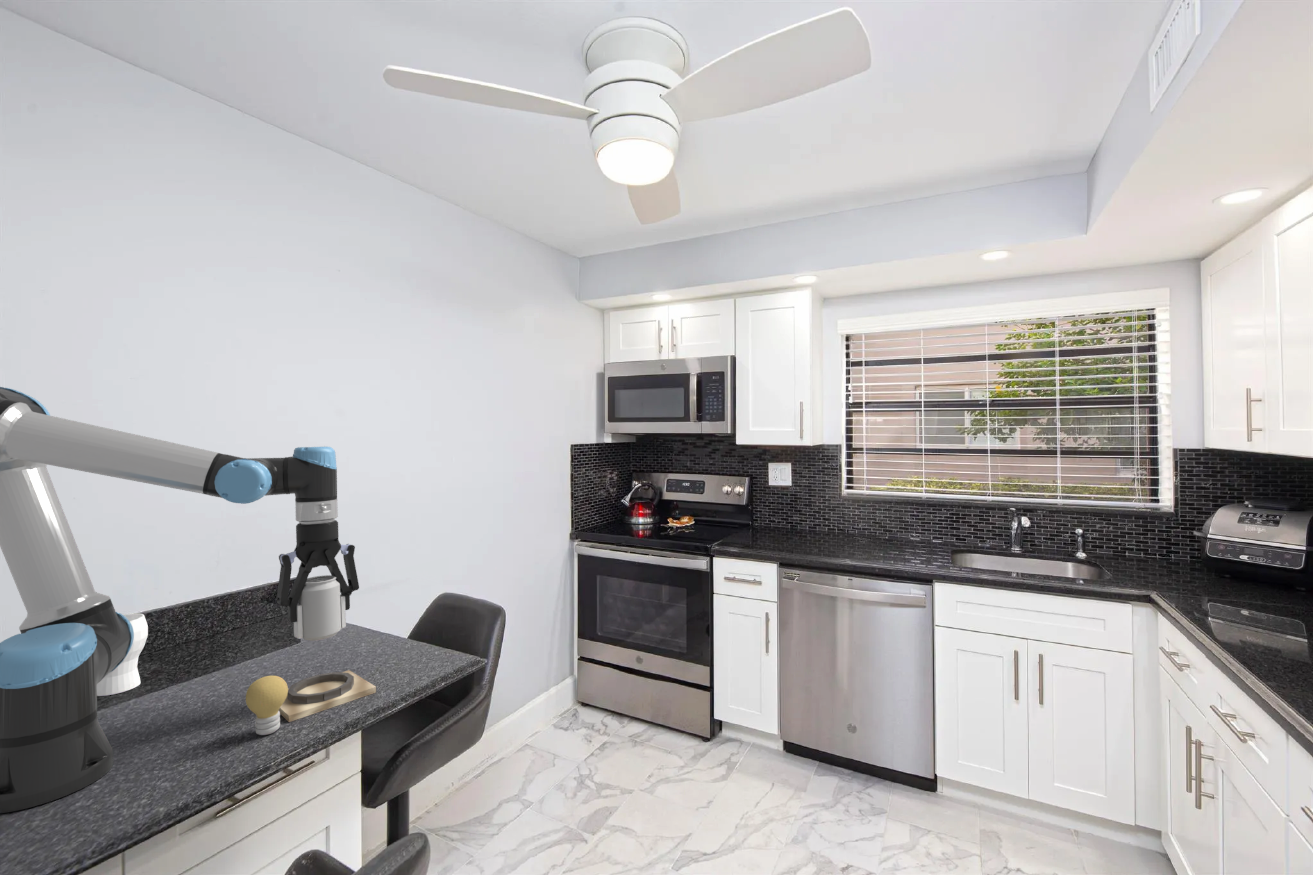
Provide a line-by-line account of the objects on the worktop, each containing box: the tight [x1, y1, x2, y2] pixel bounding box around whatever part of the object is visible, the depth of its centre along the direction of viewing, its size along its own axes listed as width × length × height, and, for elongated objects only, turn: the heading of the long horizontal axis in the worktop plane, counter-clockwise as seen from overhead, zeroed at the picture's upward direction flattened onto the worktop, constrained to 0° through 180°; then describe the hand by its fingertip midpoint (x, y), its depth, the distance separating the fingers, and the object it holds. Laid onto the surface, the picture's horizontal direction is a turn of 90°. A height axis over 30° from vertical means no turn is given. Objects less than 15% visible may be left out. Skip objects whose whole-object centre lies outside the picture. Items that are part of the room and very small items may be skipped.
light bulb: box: [245, 675, 289, 736], centre depth 105 cm, size 6×6×10 cm
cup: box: [97, 612, 149, 697], centre depth 126 cm, size 11×11×15 cm
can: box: [298, 574, 342, 642], centre depth 119 cm, size 8×8×12 cm
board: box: [278, 669, 377, 723], centre depth 119 cm, size 16×14×3 cm
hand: (320, 631), depth 119 cm, fingers closed on can, 7 cm apart
